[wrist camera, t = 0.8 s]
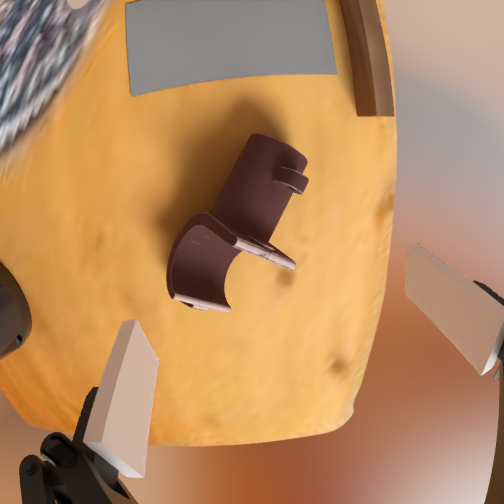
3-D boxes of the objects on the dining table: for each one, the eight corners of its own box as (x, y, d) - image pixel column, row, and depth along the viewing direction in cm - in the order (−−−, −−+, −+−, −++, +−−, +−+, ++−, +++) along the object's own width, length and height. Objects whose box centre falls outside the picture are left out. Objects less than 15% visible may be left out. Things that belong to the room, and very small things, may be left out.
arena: (138, 140, 25) (125, 141, 21) (127, -41, 16) (118, -57, 12) (374, 116, 26) (394, 116, 22) (340, -52, 17) (353, -66, 13)
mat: (132, 96, 23) (131, 96, 23) (126, 5, 19) (125, 4, 18) (335, 74, 24) (337, 74, 24) (320, -13, 20) (321, -14, 19)
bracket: (152, 287, 28) (186, 347, 20) (226, 131, 26) (292, 132, 18) (201, 300, 32) (247, 354, 24) (270, 160, 30) (340, 174, 22)
